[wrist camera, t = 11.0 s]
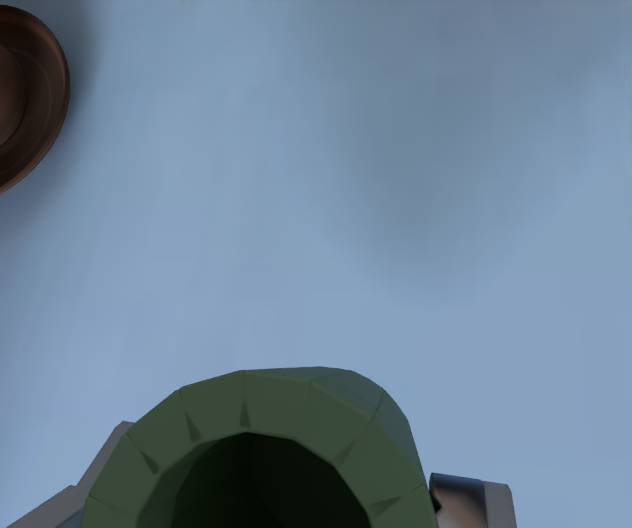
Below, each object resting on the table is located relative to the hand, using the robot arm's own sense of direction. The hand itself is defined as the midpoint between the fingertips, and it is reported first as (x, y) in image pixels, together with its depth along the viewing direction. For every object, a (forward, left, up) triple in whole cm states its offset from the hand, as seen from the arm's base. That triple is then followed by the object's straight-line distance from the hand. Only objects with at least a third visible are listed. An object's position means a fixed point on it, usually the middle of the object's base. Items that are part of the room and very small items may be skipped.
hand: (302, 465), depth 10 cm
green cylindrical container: (0, +1, -5) cm, 5 cm away
